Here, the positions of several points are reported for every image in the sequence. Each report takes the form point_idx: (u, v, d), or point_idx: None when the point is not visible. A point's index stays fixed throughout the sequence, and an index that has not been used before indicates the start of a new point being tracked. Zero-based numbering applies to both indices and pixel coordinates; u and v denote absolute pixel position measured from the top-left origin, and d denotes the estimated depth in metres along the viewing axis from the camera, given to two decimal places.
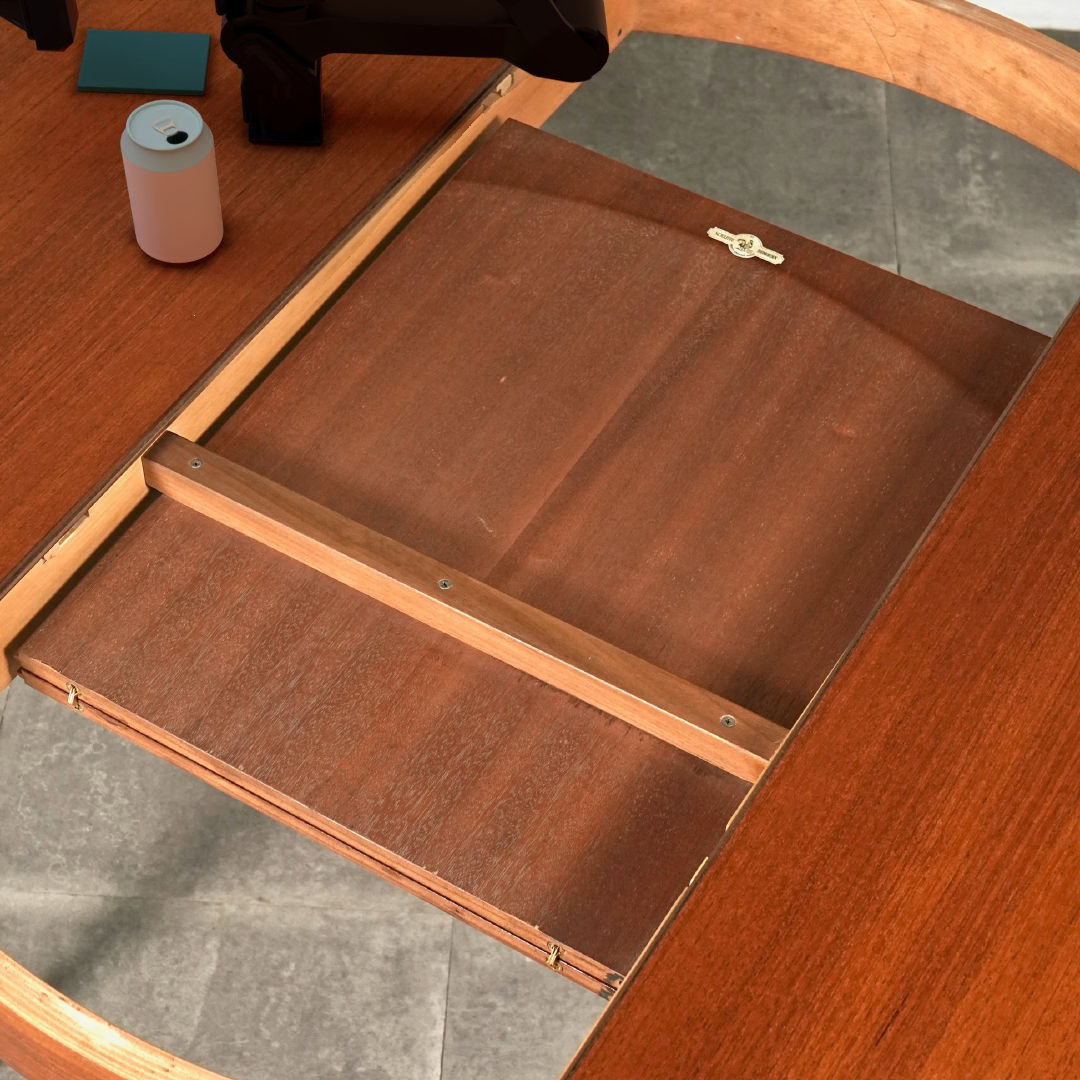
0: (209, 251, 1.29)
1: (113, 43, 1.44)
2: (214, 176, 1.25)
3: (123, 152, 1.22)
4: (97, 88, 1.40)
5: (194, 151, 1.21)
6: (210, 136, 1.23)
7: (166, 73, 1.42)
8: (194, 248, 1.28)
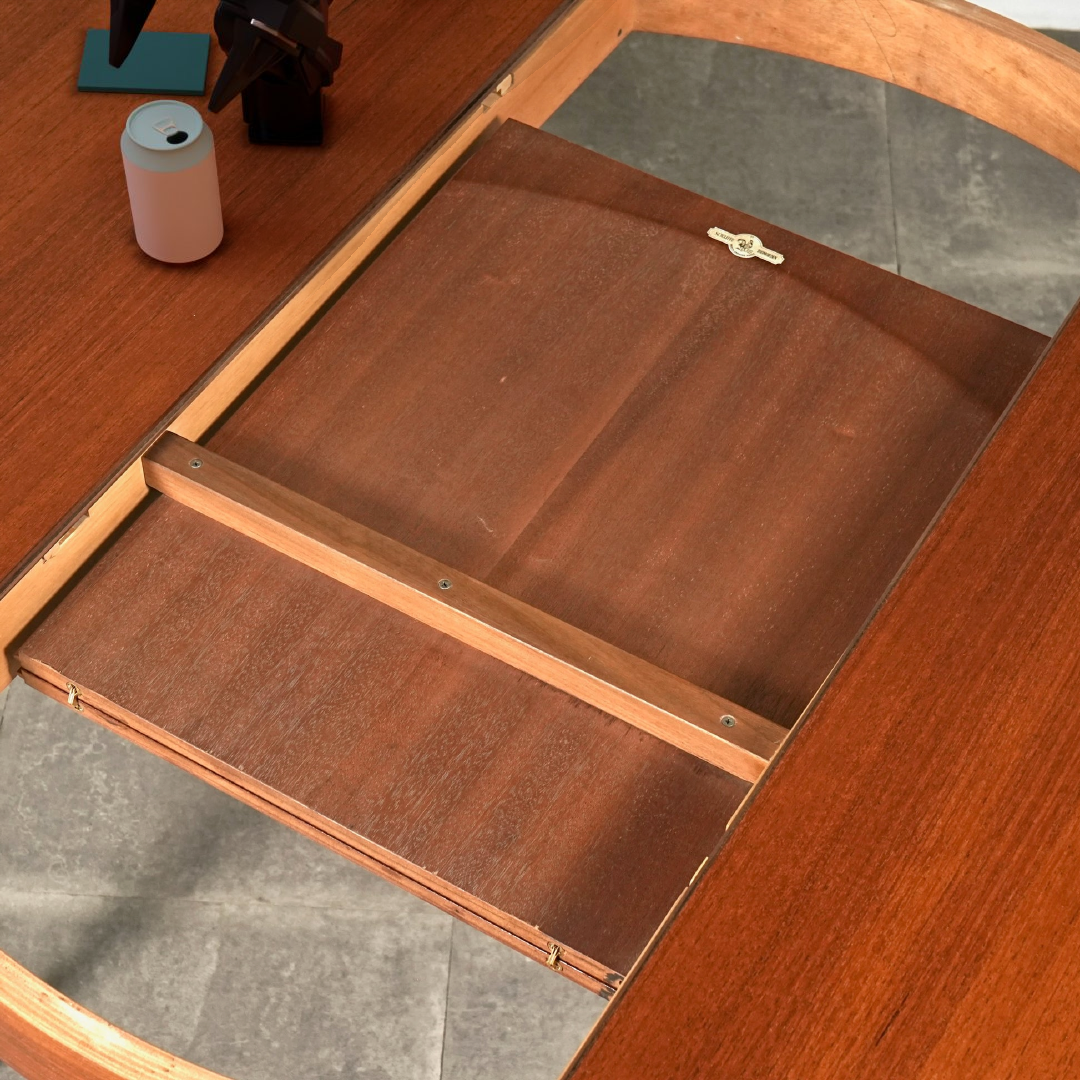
0: (209, 251, 1.29)
1: None
2: (214, 176, 1.25)
3: (123, 152, 1.22)
4: (97, 88, 1.40)
5: (194, 151, 1.21)
6: (210, 136, 1.23)
7: (166, 73, 1.42)
8: (194, 248, 1.28)
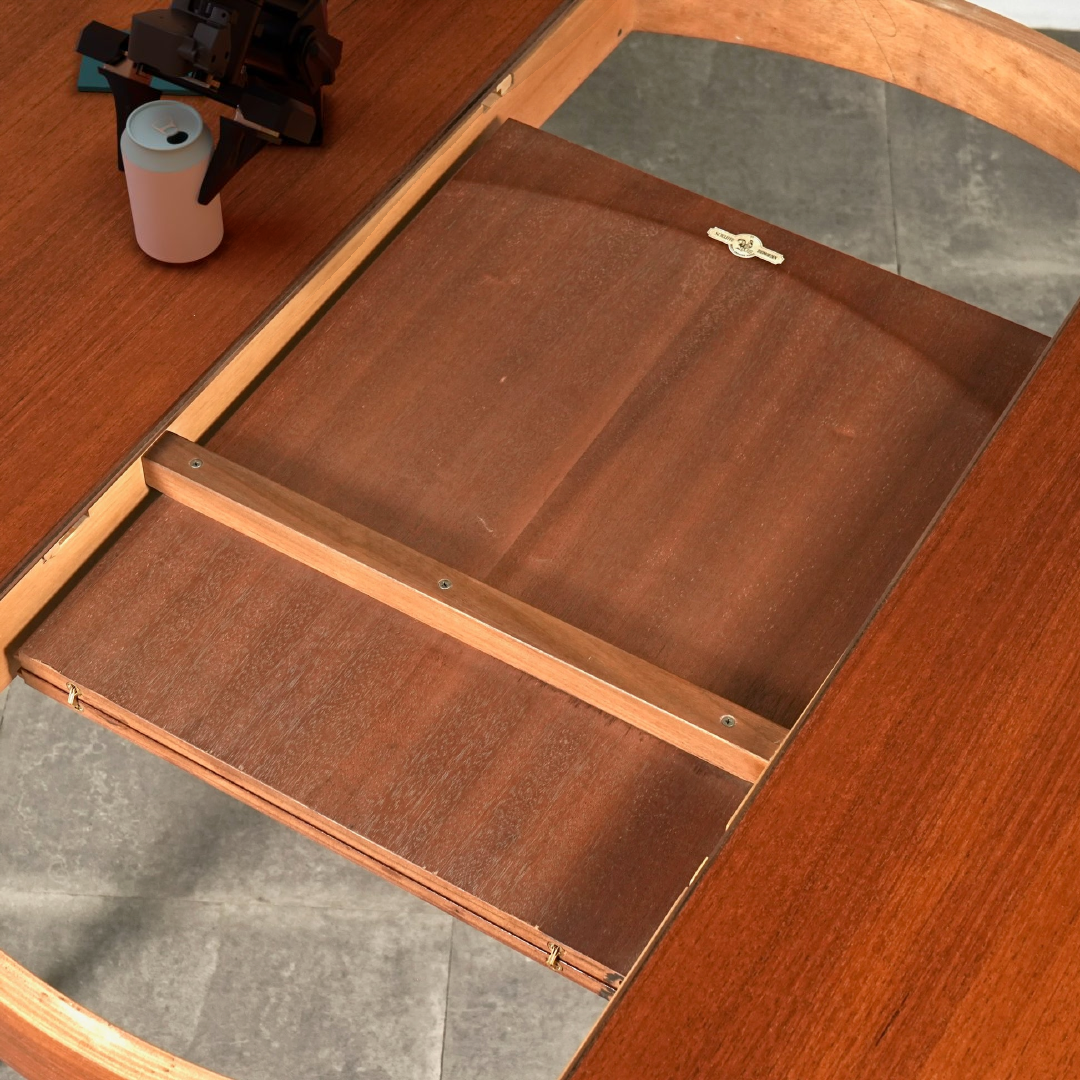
0: (209, 251, 1.29)
1: None
2: None
3: (123, 152, 1.22)
4: (97, 88, 1.40)
5: (195, 151, 1.21)
6: (210, 136, 1.23)
7: None
8: (194, 248, 1.28)
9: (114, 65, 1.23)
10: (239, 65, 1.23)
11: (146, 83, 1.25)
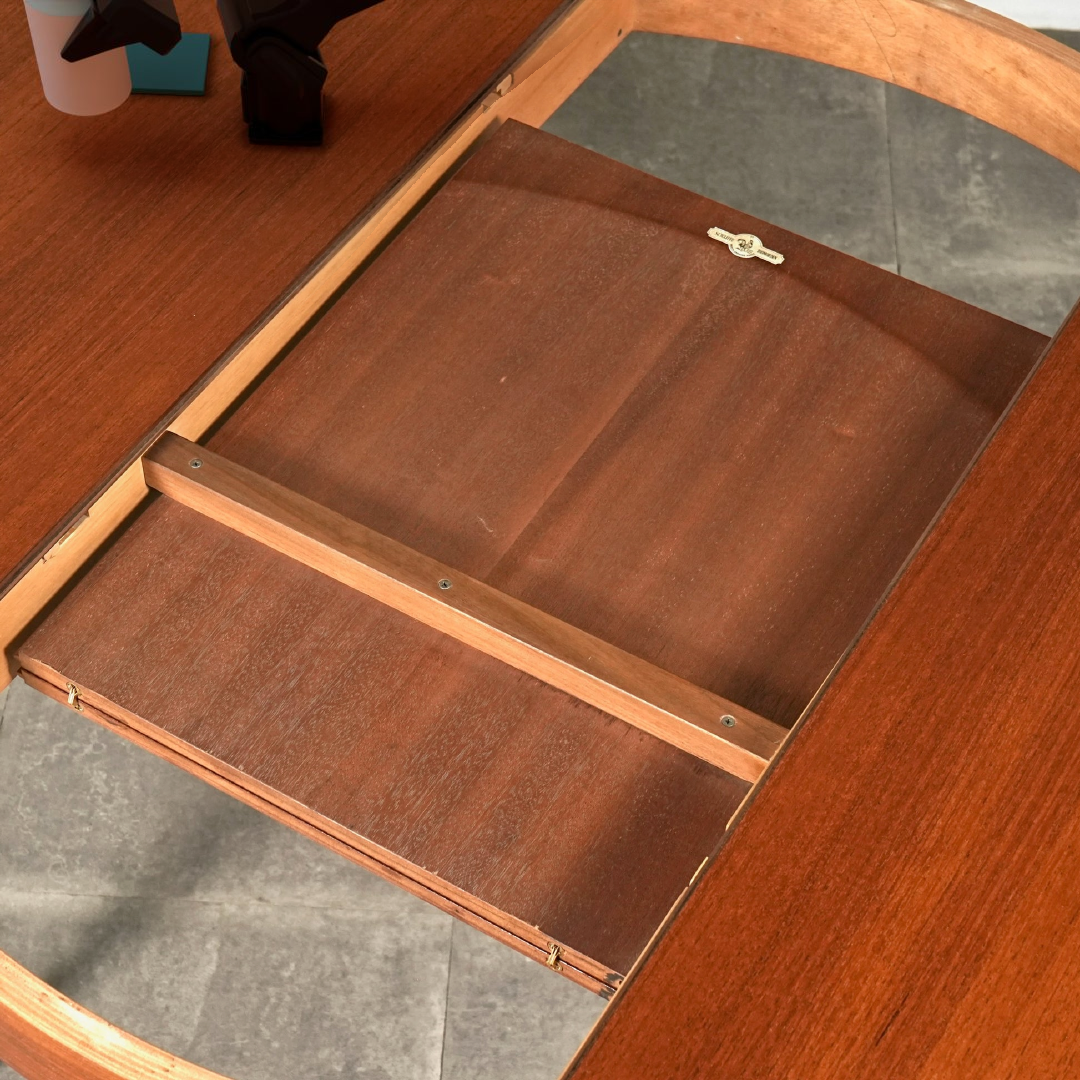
0: (83, 113, 1.29)
1: None
2: None
3: None
4: None
5: (64, 4, 1.21)
6: None
7: (166, 73, 1.42)
8: (65, 100, 1.28)
9: None
10: None
11: None
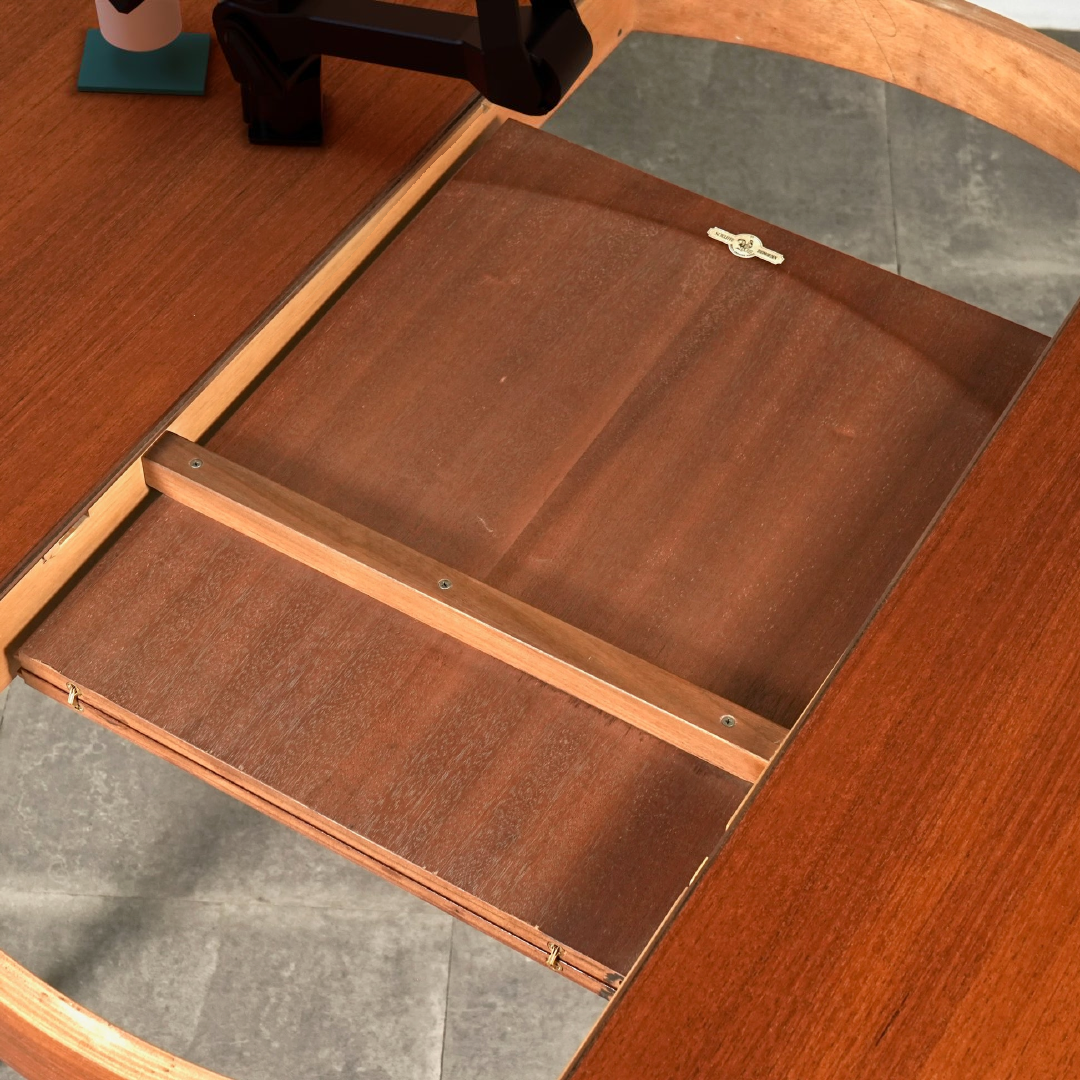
0: (110, 41, 1.38)
1: None
2: None
3: None
4: (97, 88, 1.40)
5: None
6: None
7: (166, 73, 1.42)
8: (101, 23, 1.38)
9: None
10: None
11: None
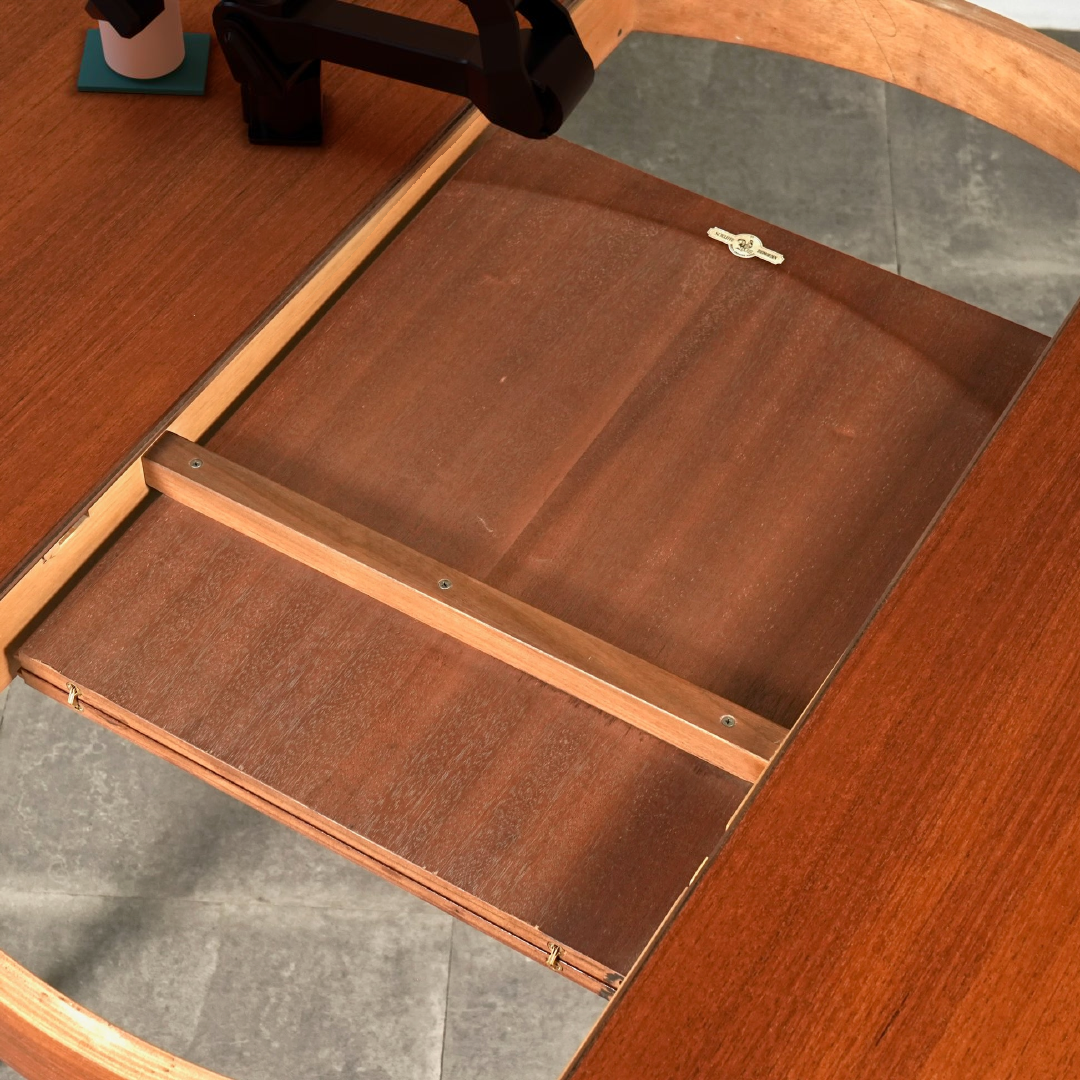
0: (114, 68, 1.40)
1: None
2: None
3: None
4: (97, 88, 1.40)
5: None
6: None
7: None
8: (105, 51, 1.40)
9: None
10: None
11: None
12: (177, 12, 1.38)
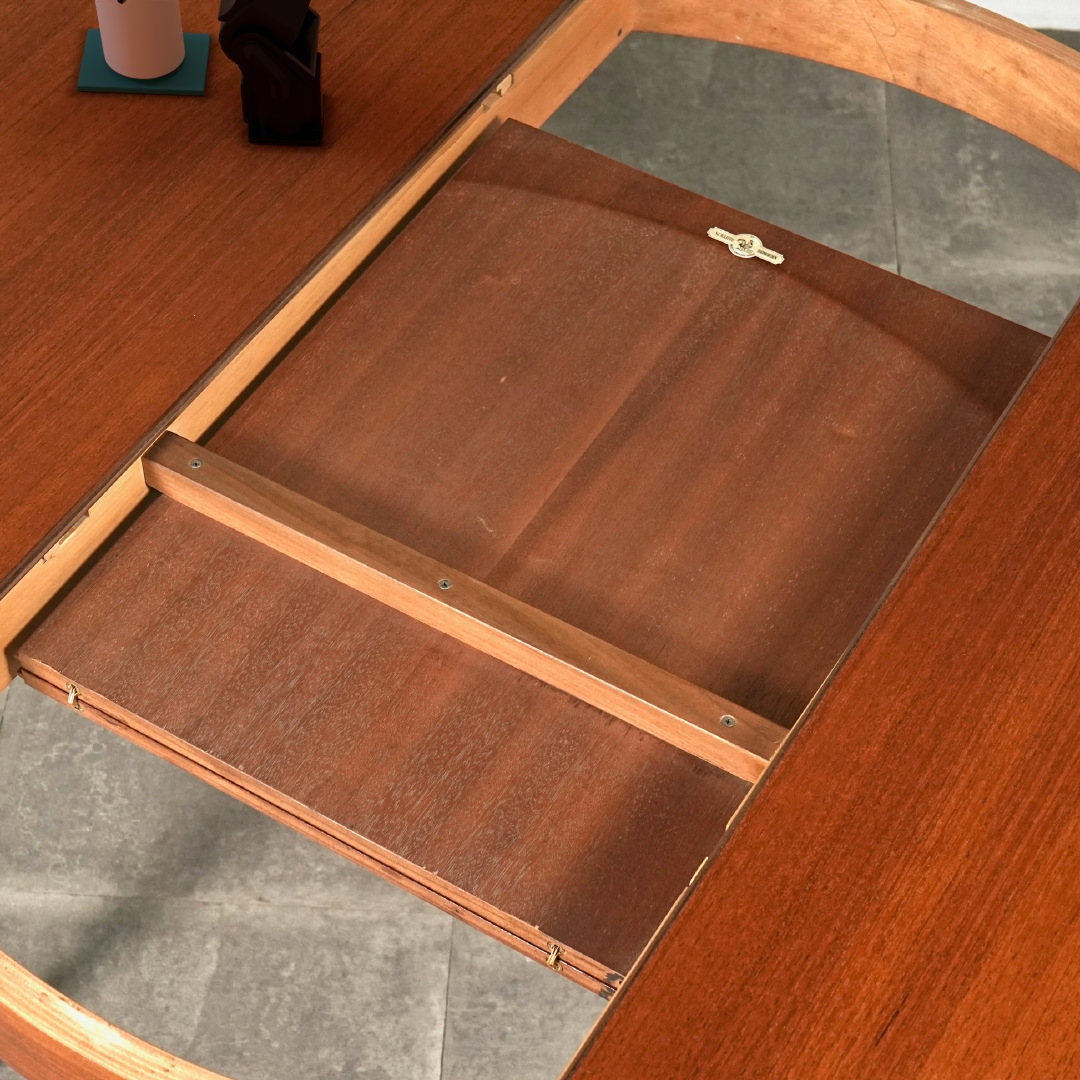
0: (114, 68, 1.40)
1: None
2: (122, 12, 1.35)
3: None
4: (97, 88, 1.40)
5: None
6: None
7: None
8: (105, 51, 1.40)
9: None
10: None
11: None
12: (177, 12, 1.38)
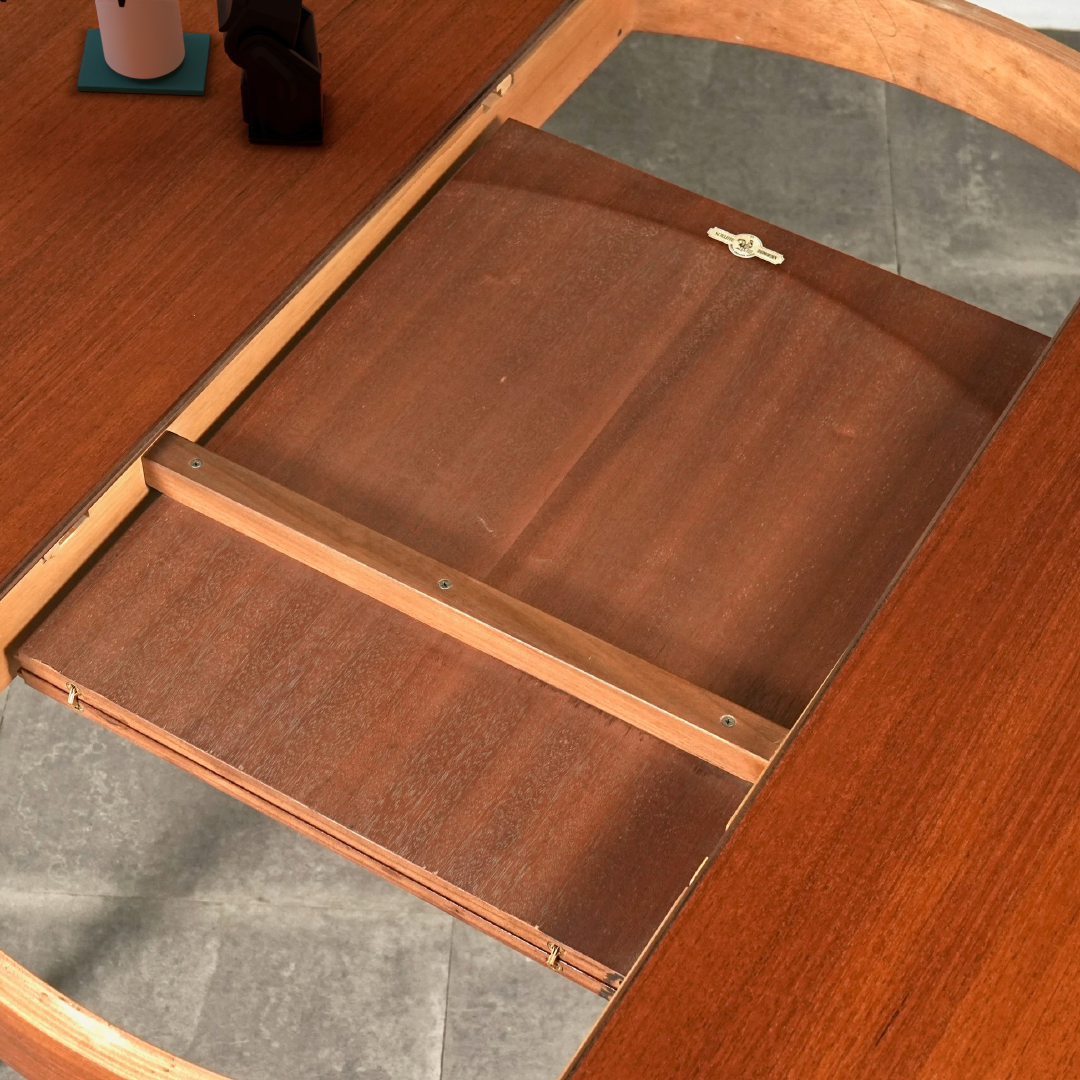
0: (114, 68, 1.40)
1: None
2: (122, 12, 1.35)
3: None
4: (97, 88, 1.40)
5: None
6: None
7: None
8: (105, 51, 1.40)
9: None
10: None
11: None
12: (177, 12, 1.38)
